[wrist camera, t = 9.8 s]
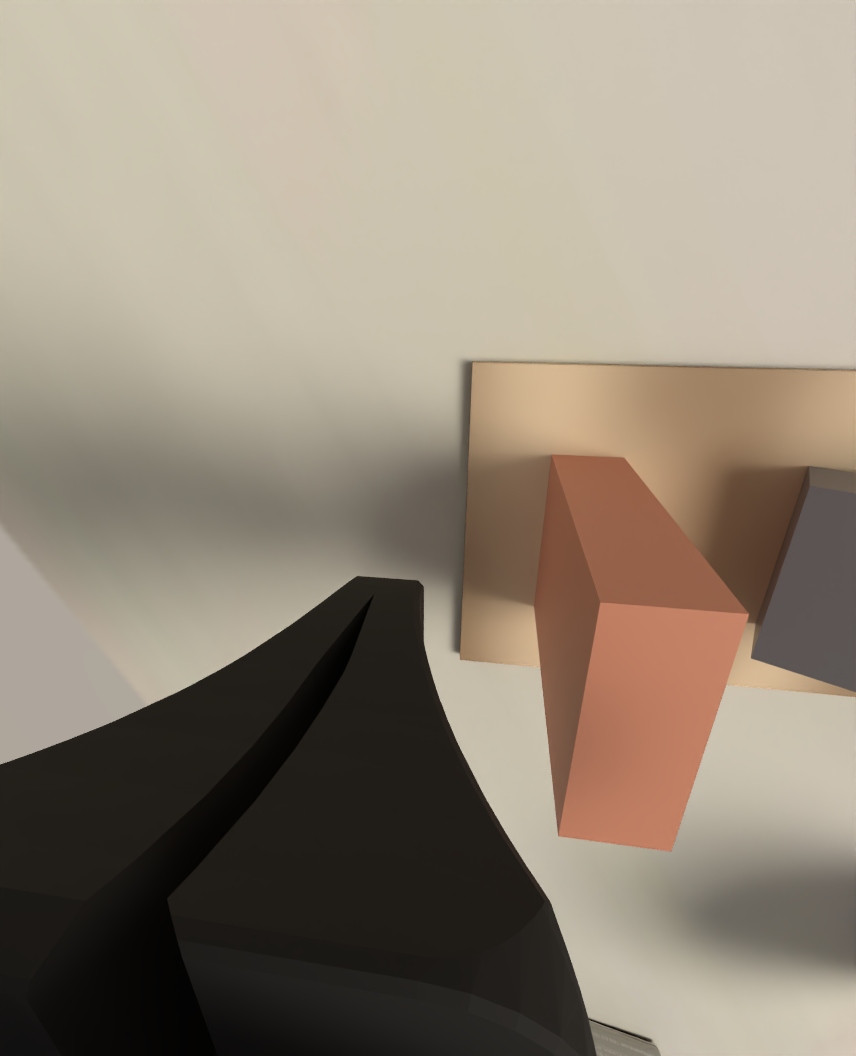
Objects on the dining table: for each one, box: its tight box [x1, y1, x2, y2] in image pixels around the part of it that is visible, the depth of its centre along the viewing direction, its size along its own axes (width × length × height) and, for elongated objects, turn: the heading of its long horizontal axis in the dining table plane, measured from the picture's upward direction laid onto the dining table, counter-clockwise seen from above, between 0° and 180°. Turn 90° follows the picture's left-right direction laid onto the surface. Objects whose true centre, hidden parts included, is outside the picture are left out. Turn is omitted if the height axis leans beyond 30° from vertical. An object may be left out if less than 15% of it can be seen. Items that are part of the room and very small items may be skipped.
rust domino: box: [534, 454, 749, 851], centre depth 10 cm, size 2×5×7 cm, turn 179°
